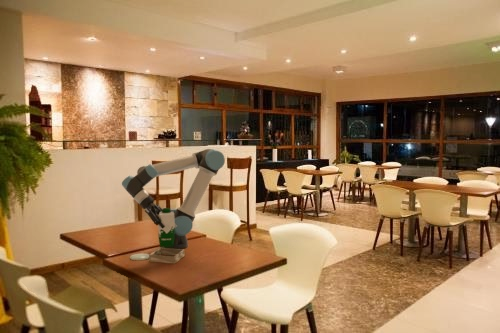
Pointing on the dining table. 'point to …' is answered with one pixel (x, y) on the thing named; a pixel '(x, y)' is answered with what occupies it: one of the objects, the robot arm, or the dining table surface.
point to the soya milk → (169, 220)
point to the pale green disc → (139, 257)
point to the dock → (158, 257)
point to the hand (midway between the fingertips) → (172, 229)
